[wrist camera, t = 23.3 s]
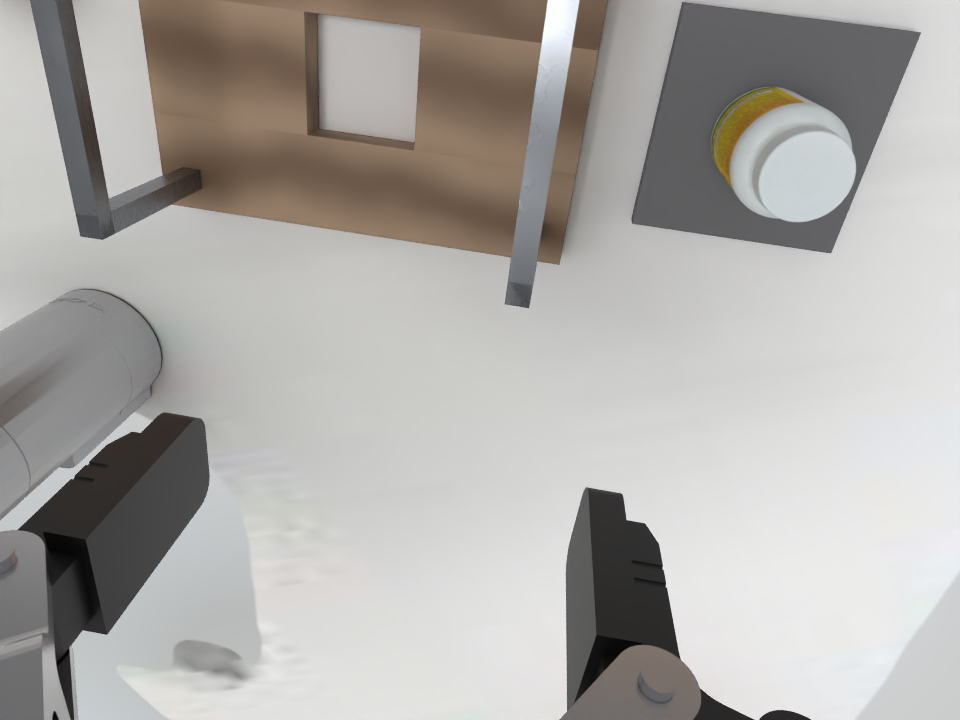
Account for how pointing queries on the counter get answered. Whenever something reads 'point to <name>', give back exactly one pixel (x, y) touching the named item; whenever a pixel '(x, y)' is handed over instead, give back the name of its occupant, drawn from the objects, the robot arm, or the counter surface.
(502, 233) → the well board
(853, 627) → the counter surface
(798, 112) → the supplement bottle
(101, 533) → the robot arm
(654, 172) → the mat
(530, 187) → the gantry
